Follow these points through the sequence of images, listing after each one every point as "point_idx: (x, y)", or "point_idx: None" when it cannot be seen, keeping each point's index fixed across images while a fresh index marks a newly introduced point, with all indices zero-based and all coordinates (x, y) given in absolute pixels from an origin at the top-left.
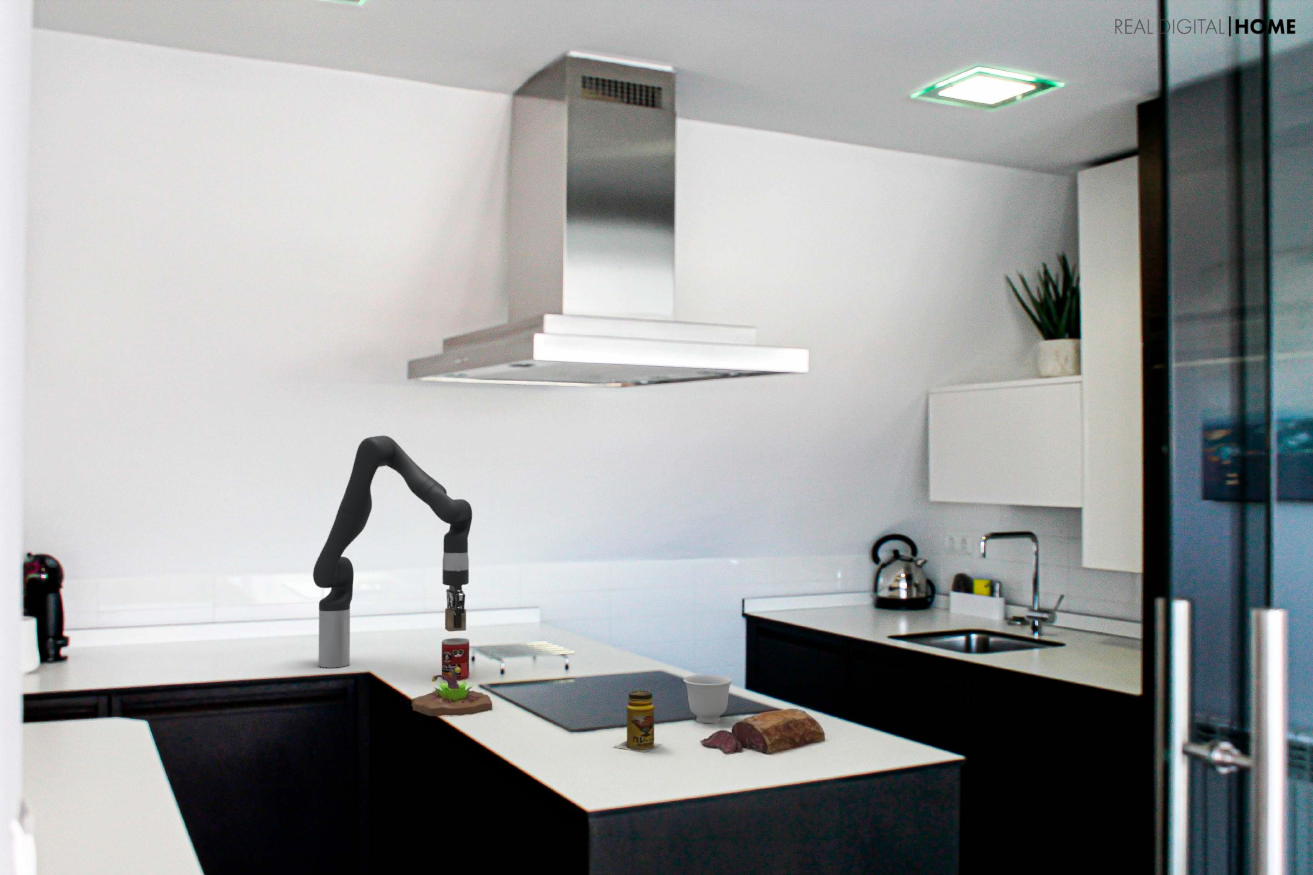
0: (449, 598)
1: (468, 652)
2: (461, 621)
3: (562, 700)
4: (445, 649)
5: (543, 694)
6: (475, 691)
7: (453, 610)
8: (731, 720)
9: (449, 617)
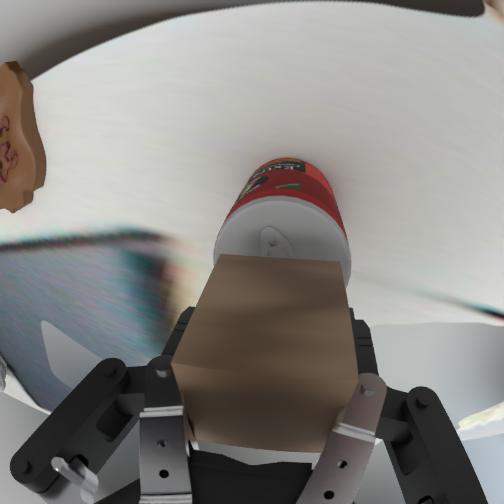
0: (299, 496)
1: None
2: None
3: (34, 310)
4: (248, 194)
5: (64, 307)
6: (12, 194)
7: (175, 387)
8: None
9: (193, 320)
